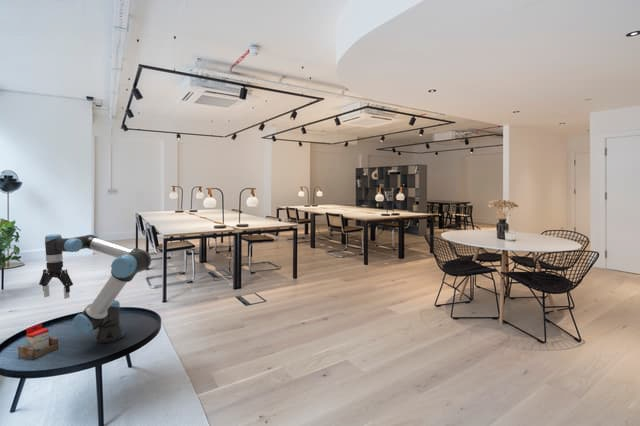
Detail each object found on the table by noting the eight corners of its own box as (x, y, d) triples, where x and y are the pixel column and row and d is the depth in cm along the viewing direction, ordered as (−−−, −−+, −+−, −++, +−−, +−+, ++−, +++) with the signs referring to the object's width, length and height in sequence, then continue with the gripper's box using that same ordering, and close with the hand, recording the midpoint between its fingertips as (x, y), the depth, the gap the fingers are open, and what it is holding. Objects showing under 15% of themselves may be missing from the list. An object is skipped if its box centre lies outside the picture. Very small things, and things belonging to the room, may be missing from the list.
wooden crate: (58, 348, 192) (57, 338, 192) (33, 360, 179) (32, 349, 179) (44, 346, 195) (43, 336, 194) (18, 357, 182) (18, 346, 181)
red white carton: (33, 356, 182) (32, 330, 181) (26, 355, 183) (25, 328, 182) (49, 349, 191) (48, 323, 189) (42, 347, 192) (41, 322, 191)
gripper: (79, 260, 195) (81, 296, 197) (42, 259, 199) (44, 294, 201) (67, 263, 188) (69, 300, 189) (29, 261, 192) (32, 298, 194)
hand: (56, 297), depth 195 cm, fingers open, 13 cm apart
